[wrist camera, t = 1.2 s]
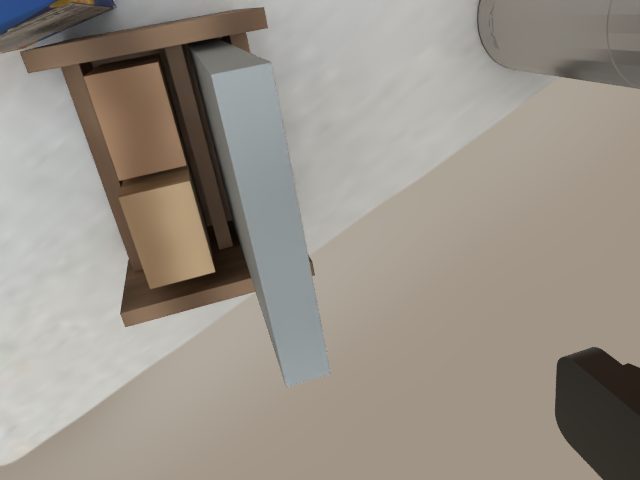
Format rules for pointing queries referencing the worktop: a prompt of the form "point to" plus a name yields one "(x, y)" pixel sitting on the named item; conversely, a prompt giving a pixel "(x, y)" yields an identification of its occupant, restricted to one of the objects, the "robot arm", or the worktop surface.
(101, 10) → the beverage box
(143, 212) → the offcut
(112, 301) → the worktop surface
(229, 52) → the sheet
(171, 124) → the offcut
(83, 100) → the rack
